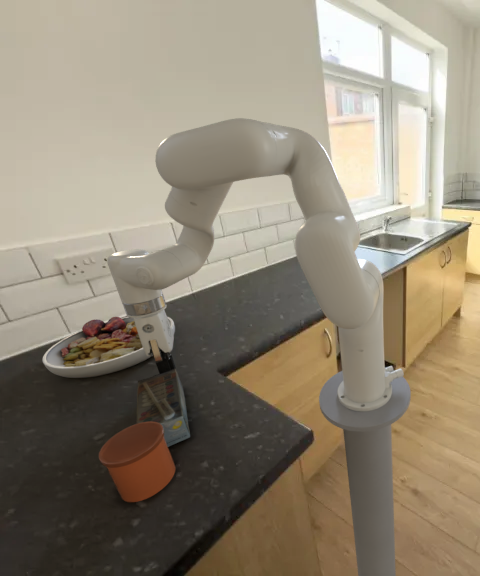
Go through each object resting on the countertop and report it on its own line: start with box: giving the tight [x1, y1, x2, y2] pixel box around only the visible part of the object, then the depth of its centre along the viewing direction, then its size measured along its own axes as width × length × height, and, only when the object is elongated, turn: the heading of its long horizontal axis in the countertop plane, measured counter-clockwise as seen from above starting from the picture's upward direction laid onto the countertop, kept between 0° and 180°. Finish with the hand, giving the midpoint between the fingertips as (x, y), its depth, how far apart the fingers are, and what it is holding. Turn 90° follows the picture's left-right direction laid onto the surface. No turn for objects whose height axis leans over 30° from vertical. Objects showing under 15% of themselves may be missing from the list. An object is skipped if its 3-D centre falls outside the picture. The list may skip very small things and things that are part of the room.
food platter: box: [42, 316, 176, 379], centre depth 93 cm, size 30×30×8 cm
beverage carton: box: [136, 368, 191, 448], centre depth 68 cm, size 8×19×7 cm, turn 35°
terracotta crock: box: [98, 421, 176, 503], centre depth 54 cm, size 9×9×9 cm
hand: (168, 372), depth 78 cm, fingers closed
